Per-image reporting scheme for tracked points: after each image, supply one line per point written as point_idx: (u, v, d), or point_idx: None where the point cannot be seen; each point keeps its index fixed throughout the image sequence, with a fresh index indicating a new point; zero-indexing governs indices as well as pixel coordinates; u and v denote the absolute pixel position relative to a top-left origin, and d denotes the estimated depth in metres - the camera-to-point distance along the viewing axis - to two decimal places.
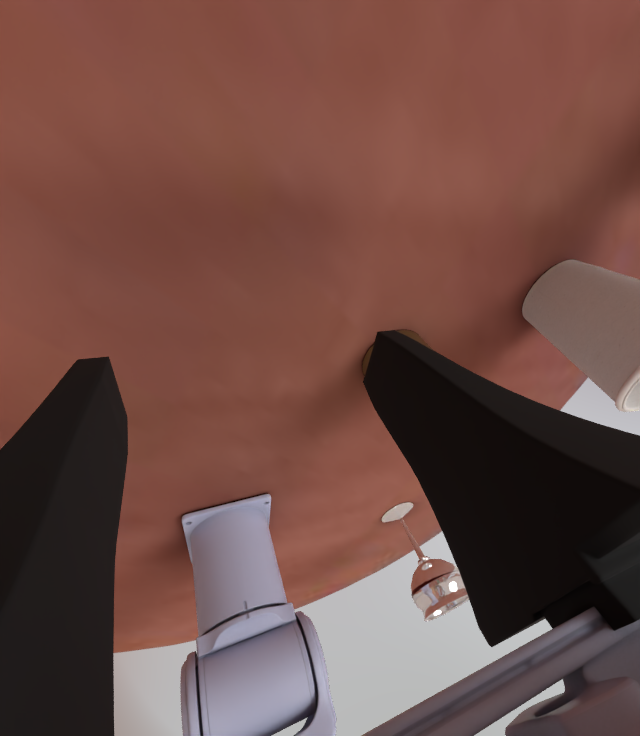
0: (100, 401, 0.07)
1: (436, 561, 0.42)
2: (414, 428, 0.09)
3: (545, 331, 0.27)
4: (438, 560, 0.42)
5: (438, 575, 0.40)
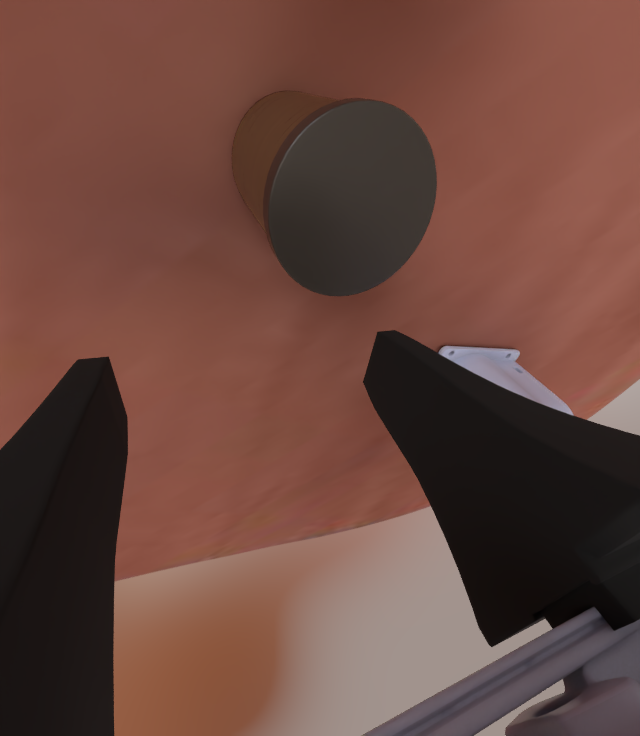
0: (100, 401, 0.07)
1: None
2: (414, 428, 0.09)
3: None
4: None
5: None
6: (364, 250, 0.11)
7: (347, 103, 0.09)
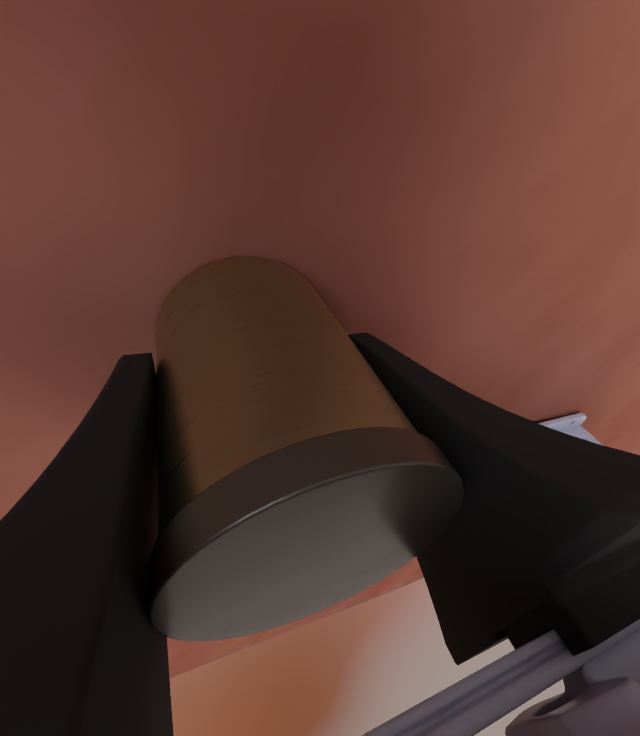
0: (149, 394, 0.07)
1: None
2: None
3: None
4: None
5: None
6: (350, 575, 0.07)
7: (255, 511, 0.04)
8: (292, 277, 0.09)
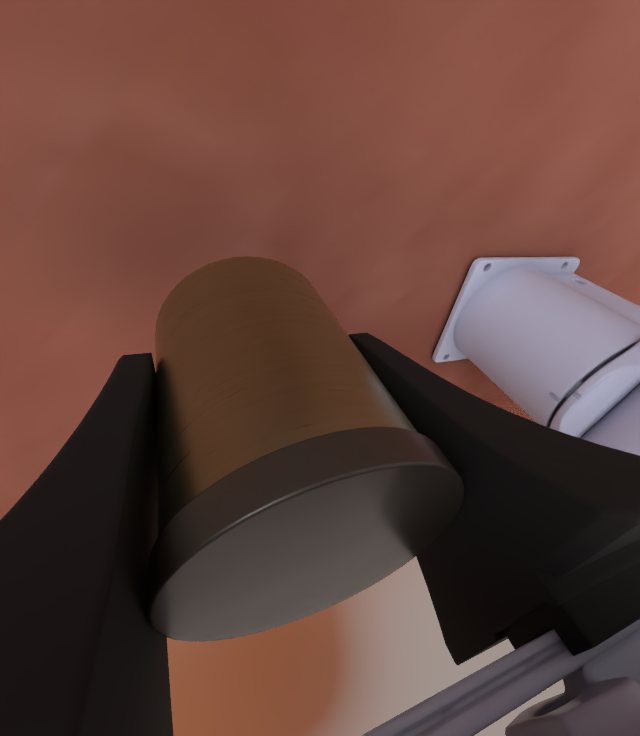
0: (149, 395, 0.07)
1: None
2: None
3: None
4: None
5: None
6: (350, 575, 0.07)
7: (254, 511, 0.04)
8: (292, 277, 0.09)
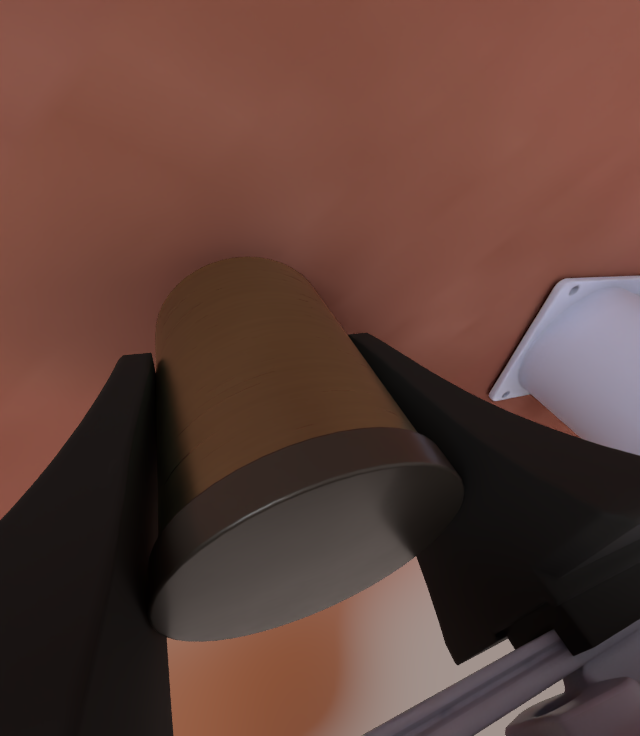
0: (149, 394, 0.07)
1: None
2: None
3: None
4: None
5: None
6: (350, 575, 0.07)
7: (255, 511, 0.04)
8: (292, 277, 0.09)
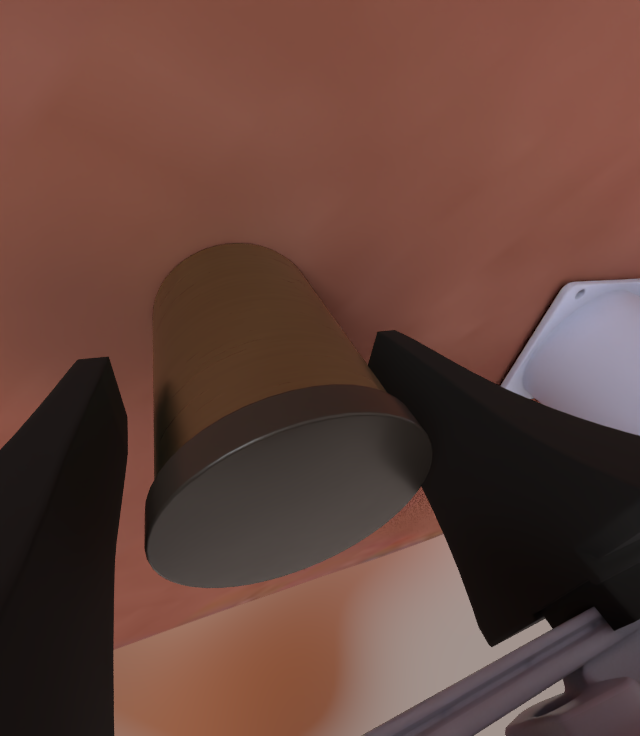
0: (100, 401, 0.07)
1: None
2: None
3: None
4: None
5: None
6: (330, 530, 0.07)
7: (237, 448, 0.05)
8: (280, 262, 0.10)
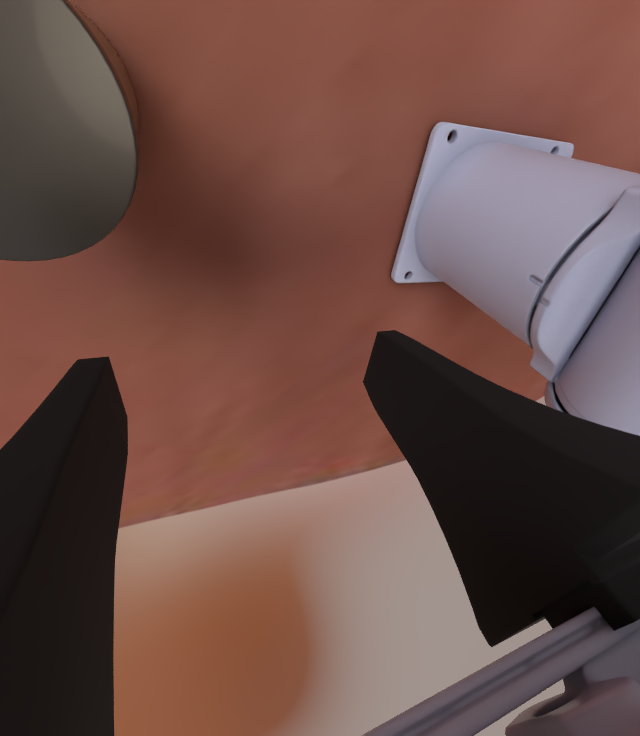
0: (100, 401, 0.07)
1: None
2: (414, 428, 0.09)
3: None
4: None
5: None
6: (35, 181, 0.07)
7: None
8: None
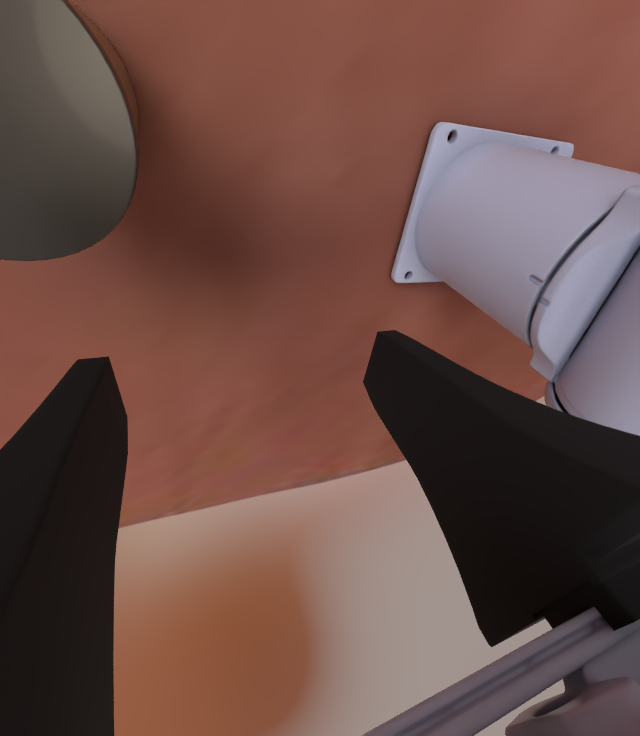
0: (100, 401, 0.07)
1: None
2: (414, 428, 0.09)
3: None
4: None
5: None
6: (35, 180, 0.07)
7: None
8: None
